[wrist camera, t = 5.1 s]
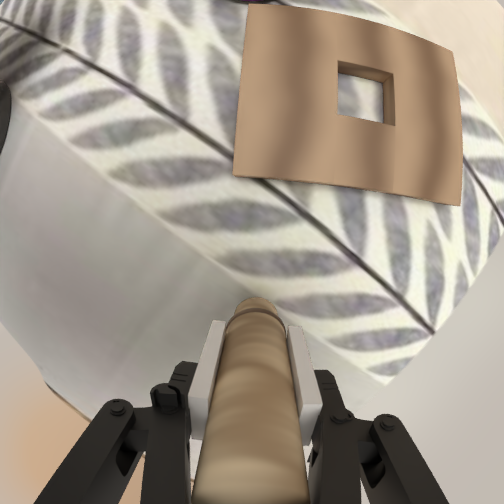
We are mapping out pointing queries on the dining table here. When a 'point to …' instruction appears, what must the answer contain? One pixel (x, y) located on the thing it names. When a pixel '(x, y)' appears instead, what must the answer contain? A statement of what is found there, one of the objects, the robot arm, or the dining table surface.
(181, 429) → the robot arm
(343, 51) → the board
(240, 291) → the dining table surface
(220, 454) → the peg
